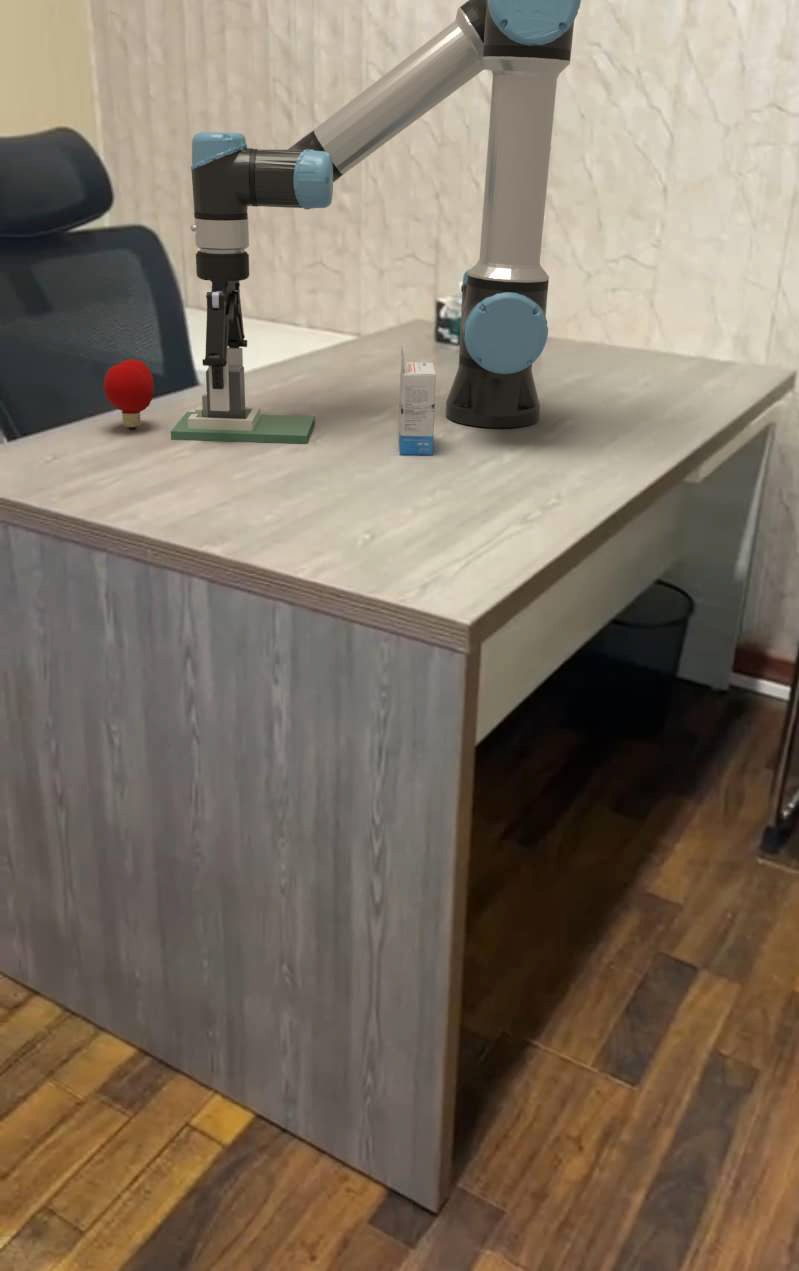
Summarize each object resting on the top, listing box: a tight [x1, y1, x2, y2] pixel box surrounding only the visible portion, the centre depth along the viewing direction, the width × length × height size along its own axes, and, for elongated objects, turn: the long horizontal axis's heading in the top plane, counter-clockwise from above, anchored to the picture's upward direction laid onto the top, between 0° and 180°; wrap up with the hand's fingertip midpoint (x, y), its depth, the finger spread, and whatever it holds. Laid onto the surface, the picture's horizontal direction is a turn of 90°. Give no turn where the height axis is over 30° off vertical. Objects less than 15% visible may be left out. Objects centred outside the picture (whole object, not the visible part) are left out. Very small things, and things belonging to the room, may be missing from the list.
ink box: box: [397, 341, 437, 456], centre depth 167 cm, size 8×5×15 cm, turn 2°
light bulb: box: [103, 359, 155, 431], centre depth 174 cm, size 9×7×10 cm
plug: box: [201, 365, 246, 419], centre depth 174 cm, size 6×4×8 cm, turn 88°
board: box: [170, 404, 316, 445], centre depth 176 cm, size 20×12×3 cm, turn 88°
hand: (227, 400), depth 174 cm, fingers open, 12 cm apart
